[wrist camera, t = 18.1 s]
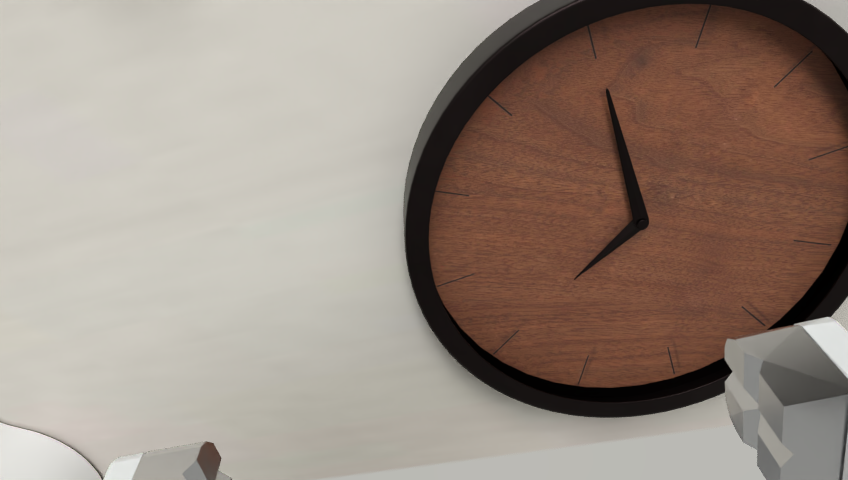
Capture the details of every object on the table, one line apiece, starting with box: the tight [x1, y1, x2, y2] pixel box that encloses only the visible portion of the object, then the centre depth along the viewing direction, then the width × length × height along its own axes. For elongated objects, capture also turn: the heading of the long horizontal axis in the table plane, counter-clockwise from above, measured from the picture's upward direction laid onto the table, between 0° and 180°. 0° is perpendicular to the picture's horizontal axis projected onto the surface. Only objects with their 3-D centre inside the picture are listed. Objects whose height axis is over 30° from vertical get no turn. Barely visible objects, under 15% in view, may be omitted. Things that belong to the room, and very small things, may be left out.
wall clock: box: [404, 0, 848, 418], centre depth 46 cm, size 31×4×31 cm
